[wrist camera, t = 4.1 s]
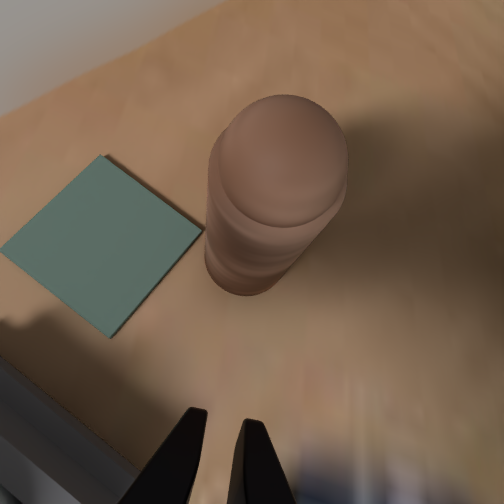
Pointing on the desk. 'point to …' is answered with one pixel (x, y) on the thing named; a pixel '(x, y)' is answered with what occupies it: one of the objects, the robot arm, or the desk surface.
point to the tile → (102, 244)
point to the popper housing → (53, 450)
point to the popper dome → (7, 497)
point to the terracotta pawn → (271, 190)
